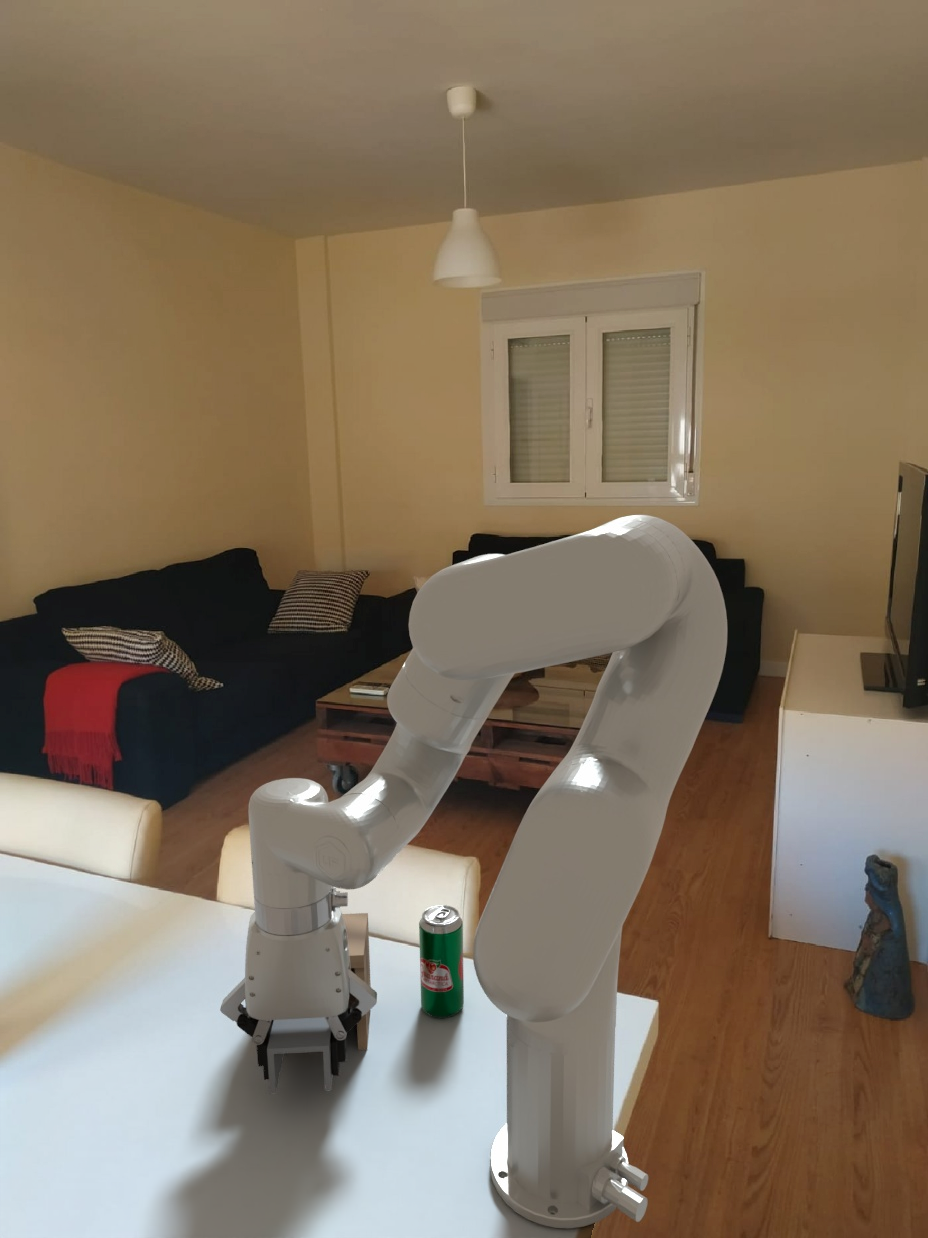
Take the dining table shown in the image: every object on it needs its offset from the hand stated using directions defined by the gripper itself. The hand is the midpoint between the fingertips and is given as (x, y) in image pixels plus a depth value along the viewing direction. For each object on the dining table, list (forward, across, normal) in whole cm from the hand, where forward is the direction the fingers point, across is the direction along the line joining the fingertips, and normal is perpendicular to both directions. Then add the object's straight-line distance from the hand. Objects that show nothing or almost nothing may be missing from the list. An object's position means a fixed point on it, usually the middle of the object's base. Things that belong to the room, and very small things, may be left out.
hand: (303, 1066), depth 87 cm
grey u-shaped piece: (+1, 0, -4) cm, 5 cm away
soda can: (+4, -15, -13) cm, 20 cm away
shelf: (+3, 0, -11) cm, 11 cm away
